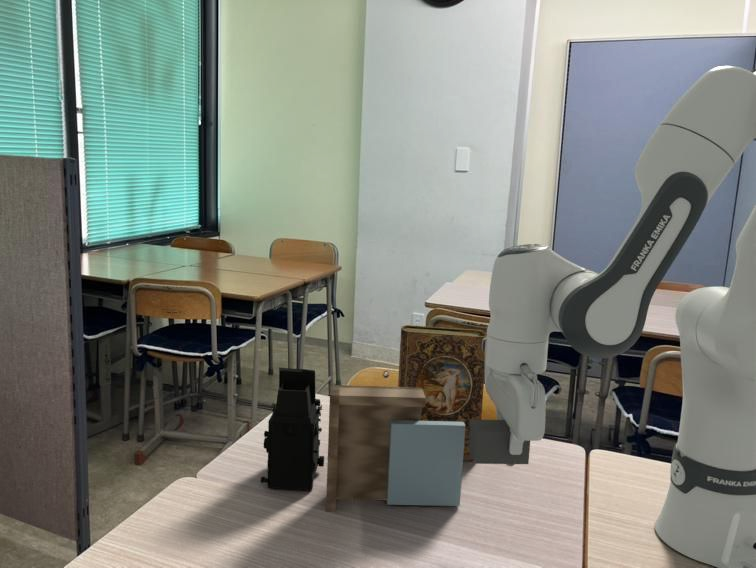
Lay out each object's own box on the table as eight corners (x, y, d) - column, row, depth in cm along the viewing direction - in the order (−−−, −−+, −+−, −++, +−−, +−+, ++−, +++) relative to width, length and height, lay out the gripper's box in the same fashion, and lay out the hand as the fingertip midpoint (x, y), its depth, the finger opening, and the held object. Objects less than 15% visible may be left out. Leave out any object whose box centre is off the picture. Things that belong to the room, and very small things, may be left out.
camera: (327, 458, 115) (330, 357, 112) (317, 494, 102) (321, 380, 98) (275, 455, 115) (277, 354, 112) (259, 491, 102) (260, 377, 99)
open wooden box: (415, 497, 102) (421, 387, 99) (418, 512, 97) (425, 397, 94) (327, 495, 101) (330, 385, 98) (325, 511, 97) (329, 395, 93)
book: (393, 455, 118) (400, 331, 114) (395, 443, 123) (402, 324, 119) (478, 462, 116) (487, 337, 112) (476, 450, 122) (485, 330, 118)
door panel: (457, 500, 101) (463, 421, 99) (459, 505, 99) (465, 425, 97) (386, 499, 100) (390, 419, 98) (387, 504, 99) (391, 423, 96)
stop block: (519, 450, 93) (522, 420, 92) (528, 464, 88) (531, 432, 88) (468, 450, 92) (470, 419, 92) (474, 463, 88) (476, 431, 87)
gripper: (561, 377, 78) (552, 477, 80) (518, 338, 98) (511, 418, 100) (513, 376, 77) (506, 476, 80) (479, 337, 98) (474, 417, 100)
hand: (509, 443), depth 90 cm, fingers closed on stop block, 4 cm apart
